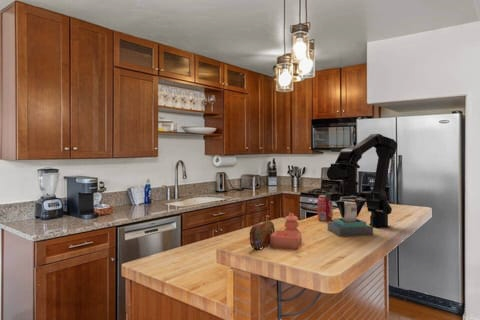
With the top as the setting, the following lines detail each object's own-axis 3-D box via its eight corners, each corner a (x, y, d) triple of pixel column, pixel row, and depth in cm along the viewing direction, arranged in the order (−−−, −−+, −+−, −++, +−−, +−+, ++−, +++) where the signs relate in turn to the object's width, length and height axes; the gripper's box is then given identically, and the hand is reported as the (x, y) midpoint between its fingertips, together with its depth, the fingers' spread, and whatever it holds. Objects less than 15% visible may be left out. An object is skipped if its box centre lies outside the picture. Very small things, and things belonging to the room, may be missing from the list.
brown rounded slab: (256, 252, 112) (255, 227, 111) (247, 250, 113) (247, 226, 113) (275, 241, 124) (275, 219, 124) (268, 240, 126) (267, 218, 126)
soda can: (331, 218, 167) (331, 194, 167) (333, 221, 160) (333, 196, 160) (316, 218, 168) (316, 194, 167) (318, 221, 160) (318, 196, 160)
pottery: (297, 250, 114) (297, 221, 114) (270, 247, 117) (270, 219, 117) (305, 237, 131) (305, 212, 131) (281, 235, 134) (281, 211, 134)
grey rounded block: (352, 222, 141) (352, 203, 141) (361, 225, 134) (361, 205, 134) (340, 222, 140) (340, 203, 140) (348, 226, 133) (348, 206, 133)
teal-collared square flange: (358, 228, 145) (358, 216, 145) (373, 234, 133) (373, 222, 133) (327, 229, 143) (327, 218, 143) (339, 236, 131) (339, 223, 131)
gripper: (360, 177, 147) (361, 212, 147) (320, 178, 144) (320, 214, 145) (374, 179, 136) (374, 217, 136) (330, 180, 133) (331, 219, 133)
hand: (349, 217), depth 138 cm, fingers open, 6 cm apart
